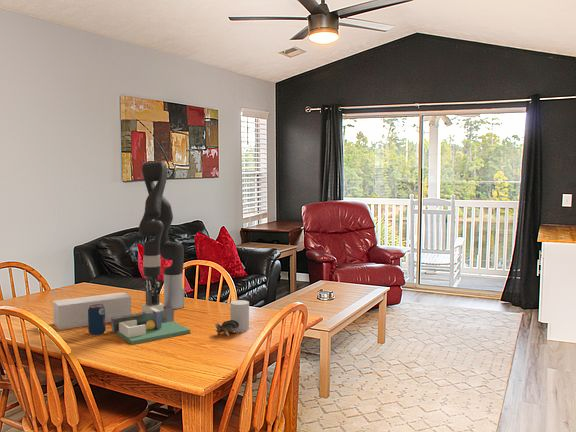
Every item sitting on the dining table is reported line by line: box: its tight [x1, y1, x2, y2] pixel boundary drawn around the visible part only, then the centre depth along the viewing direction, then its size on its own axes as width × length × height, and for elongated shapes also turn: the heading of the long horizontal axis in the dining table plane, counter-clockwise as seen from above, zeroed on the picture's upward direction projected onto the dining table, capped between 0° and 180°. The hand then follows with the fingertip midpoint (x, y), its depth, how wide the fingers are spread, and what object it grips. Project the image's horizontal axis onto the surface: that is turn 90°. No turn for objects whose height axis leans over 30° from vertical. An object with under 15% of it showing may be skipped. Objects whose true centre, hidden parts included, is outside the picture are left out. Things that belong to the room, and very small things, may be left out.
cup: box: [229, 299, 250, 333], centre depth 242 cm, size 8×8×12 cm
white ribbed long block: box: [52, 291, 132, 330], centre depth 253 cm, size 32×11×11 cm, turn 124°
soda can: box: [87, 304, 107, 337], centre depth 234 cm, size 7×7×12 cm
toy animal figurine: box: [215, 320, 239, 337], centre depth 234 cm, size 8×7×9 cm
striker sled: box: [141, 291, 164, 329], centre depth 243 cm, size 8×16×13 cm, turn 38°
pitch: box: [116, 320, 191, 346], centre depth 234 cm, size 26×16×2 cm, turn 128°
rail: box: [110, 308, 175, 334], centre depth 245 cm, size 28×3×6 cm, turn 128°
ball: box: [146, 320, 155, 330], centre depth 235 cm, size 4×4×4 cm
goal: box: [119, 320, 146, 338], centre depth 230 cm, size 8×10×4 cm
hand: (152, 302), depth 247 cm, fingers closed on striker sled, 3 cm apart
